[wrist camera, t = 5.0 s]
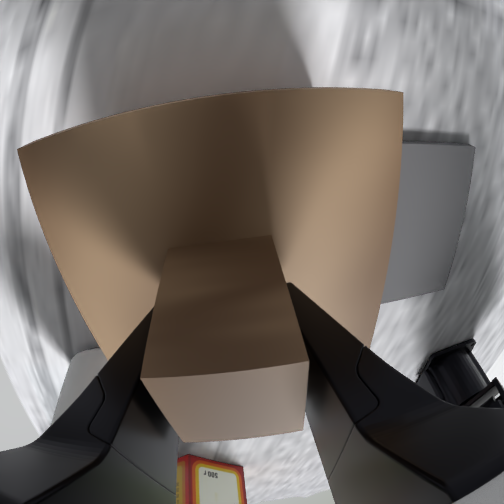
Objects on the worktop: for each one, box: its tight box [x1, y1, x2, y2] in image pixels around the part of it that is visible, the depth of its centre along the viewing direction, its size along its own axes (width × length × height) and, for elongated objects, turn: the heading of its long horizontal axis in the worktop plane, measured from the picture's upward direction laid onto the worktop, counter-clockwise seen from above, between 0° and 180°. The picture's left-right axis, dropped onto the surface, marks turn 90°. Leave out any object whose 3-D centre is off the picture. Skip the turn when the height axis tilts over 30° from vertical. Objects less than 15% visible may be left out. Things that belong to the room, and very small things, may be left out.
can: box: [51, 348, 108, 425], centre depth 17 cm, size 8×8×12 cm
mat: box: [381, 141, 475, 304], centre depth 17 cm, size 9×11×1 cm
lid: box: [17, 87, 403, 443], centre depth 8 cm, size 11×11×6 cm
